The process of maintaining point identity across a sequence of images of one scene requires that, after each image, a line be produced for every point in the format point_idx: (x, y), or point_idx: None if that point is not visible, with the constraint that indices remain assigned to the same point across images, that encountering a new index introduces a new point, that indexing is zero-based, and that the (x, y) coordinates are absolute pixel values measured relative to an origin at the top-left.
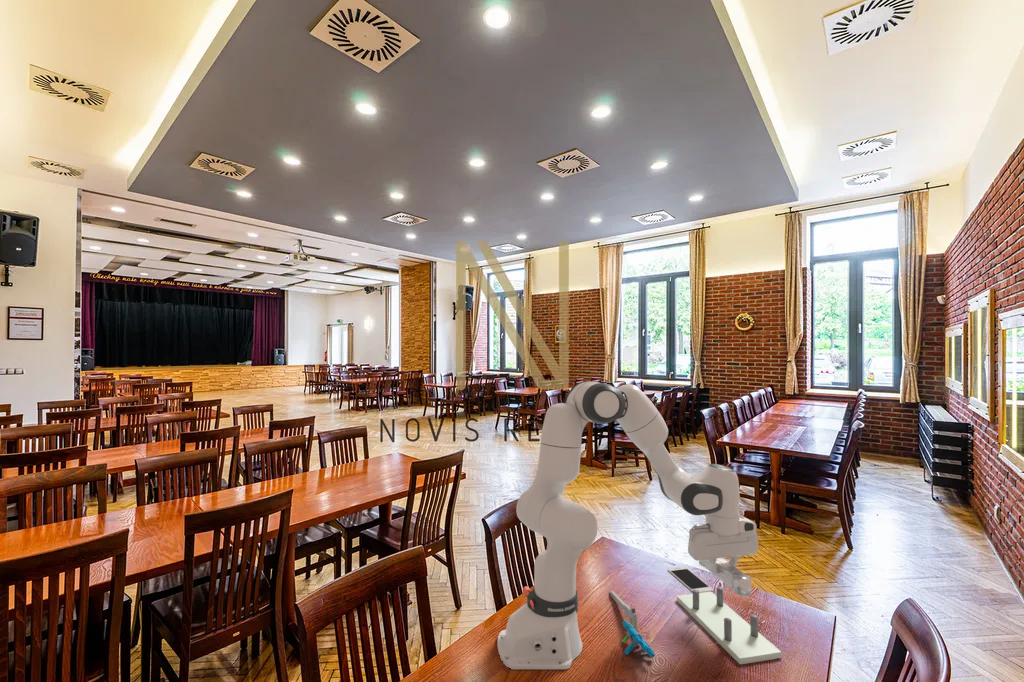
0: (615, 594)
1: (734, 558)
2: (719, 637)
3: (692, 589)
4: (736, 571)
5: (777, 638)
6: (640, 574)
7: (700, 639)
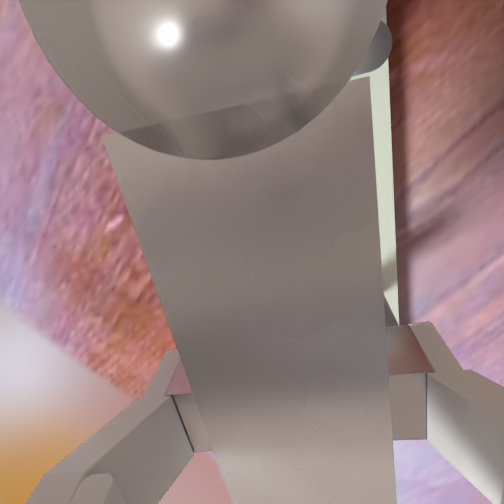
0: None
1: (103, 497)
2: (384, 71)
3: None
4: (213, 201)
5: None
6: (440, 488)
7: (454, 102)
